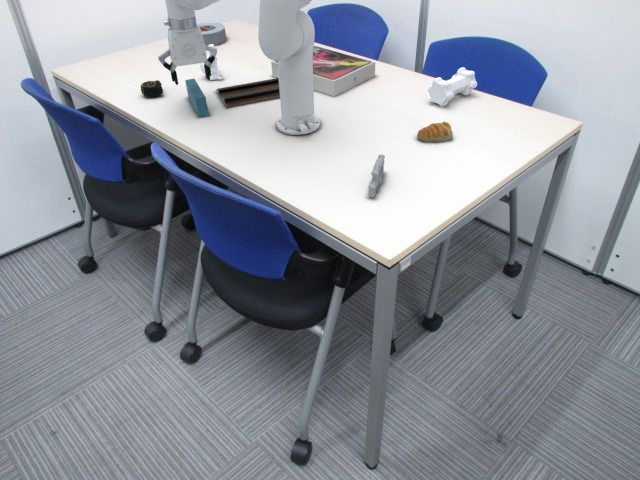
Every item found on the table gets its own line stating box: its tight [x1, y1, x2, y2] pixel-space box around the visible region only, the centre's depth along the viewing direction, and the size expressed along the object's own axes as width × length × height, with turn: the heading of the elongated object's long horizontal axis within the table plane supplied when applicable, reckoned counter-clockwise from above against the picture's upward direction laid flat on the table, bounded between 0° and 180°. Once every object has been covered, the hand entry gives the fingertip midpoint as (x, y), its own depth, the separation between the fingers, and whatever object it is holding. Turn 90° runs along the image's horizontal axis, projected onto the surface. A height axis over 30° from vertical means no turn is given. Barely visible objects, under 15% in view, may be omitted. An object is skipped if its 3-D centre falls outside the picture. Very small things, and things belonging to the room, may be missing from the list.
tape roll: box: [196, 22, 227, 46], centre depth 216 cm, size 15×15×5 cm
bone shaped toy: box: [427, 66, 478, 107], centre depth 164 cm, size 15×9×8 cm, turn 131°
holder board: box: [215, 77, 280, 109], centre depth 174 cm, size 14×22×2 cm, turn 112°
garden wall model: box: [367, 153, 386, 199], centre depth 127 cm, size 12×2×6 cm, turn 163°
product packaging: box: [270, 44, 376, 97], centre depth 183 cm, size 22×28×5 cm
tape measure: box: [140, 79, 164, 98], centre depth 174 cm, size 7×7×4 cm
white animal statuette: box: [199, 44, 223, 81], centre depth 182 cm, size 8×7×12 cm
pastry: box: [416, 121, 454, 143], centre depth 146 cm, size 9×7×4 cm
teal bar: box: [185, 78, 209, 118], centre depth 166 cm, size 16×3×6 cm, turn 22°
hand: (192, 80), depth 162 cm, fingers open, 9 cm apart
